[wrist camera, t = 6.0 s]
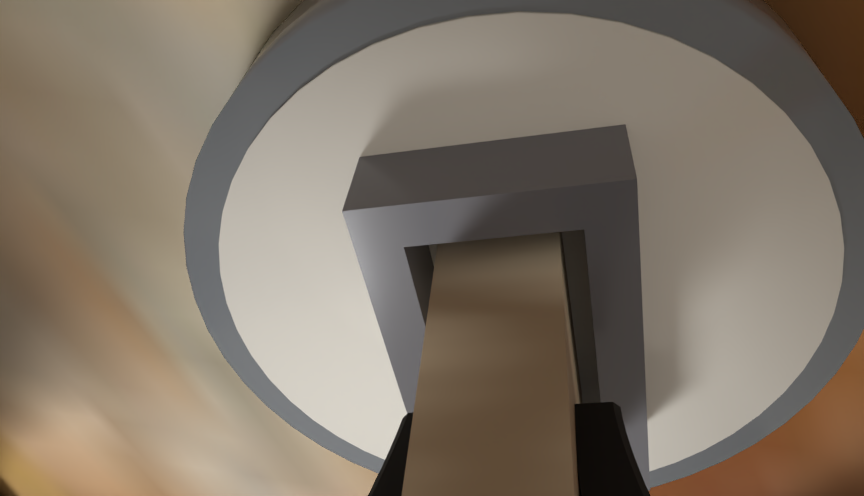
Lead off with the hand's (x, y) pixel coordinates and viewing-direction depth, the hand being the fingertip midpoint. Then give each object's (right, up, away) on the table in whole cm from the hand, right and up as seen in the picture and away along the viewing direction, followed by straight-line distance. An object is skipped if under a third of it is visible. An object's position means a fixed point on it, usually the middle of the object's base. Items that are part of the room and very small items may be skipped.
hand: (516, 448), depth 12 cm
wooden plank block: (0, +2, +3) cm, 3 cm away
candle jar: (+1, +4, +5) cm, 6 cm away
